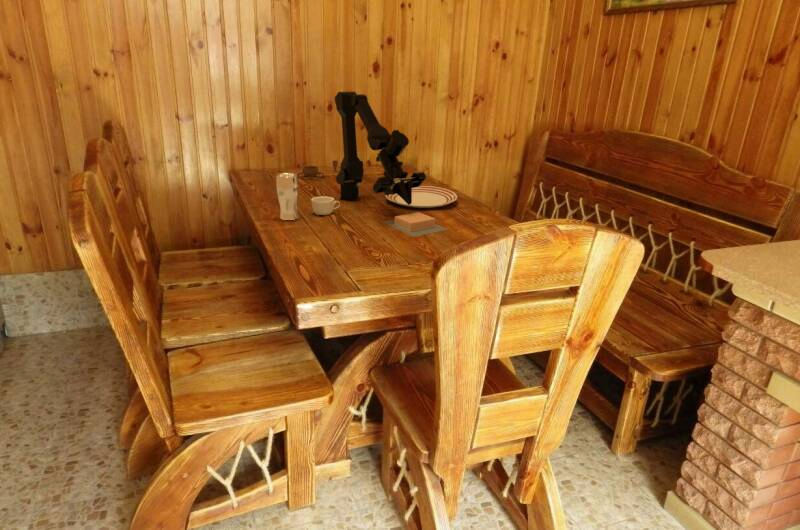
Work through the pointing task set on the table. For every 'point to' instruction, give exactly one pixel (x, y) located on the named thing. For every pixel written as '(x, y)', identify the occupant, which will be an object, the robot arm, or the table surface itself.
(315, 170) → the place setting
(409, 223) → the tile
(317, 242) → the table surface
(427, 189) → the dinner plate
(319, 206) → the teacup
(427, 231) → the mat
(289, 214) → the beer glass
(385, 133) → the robot arm
